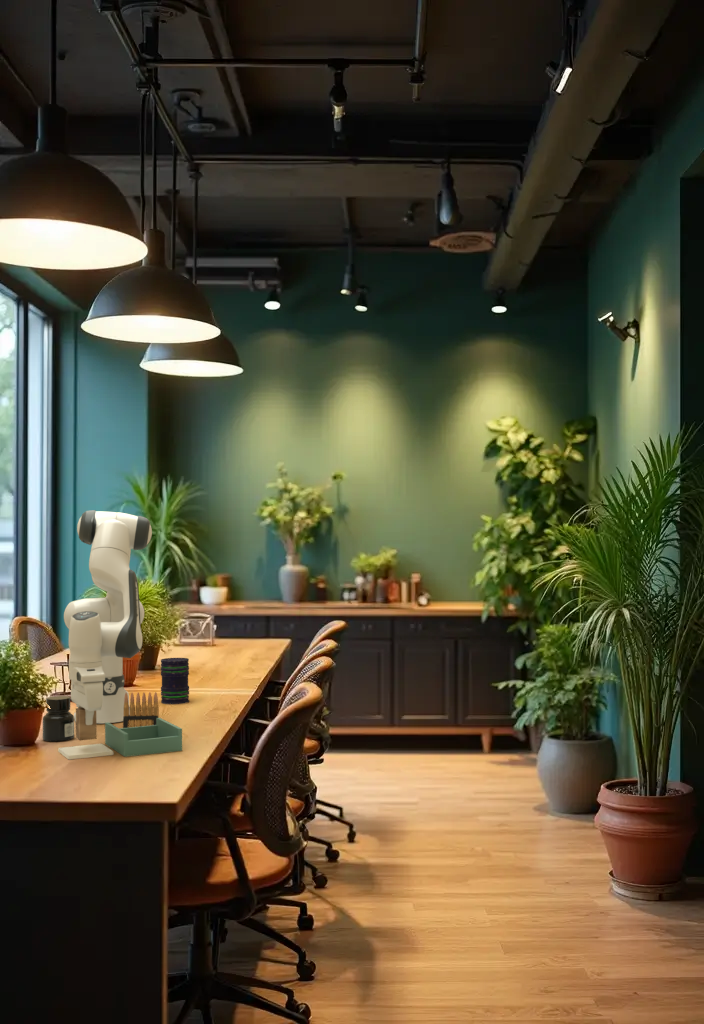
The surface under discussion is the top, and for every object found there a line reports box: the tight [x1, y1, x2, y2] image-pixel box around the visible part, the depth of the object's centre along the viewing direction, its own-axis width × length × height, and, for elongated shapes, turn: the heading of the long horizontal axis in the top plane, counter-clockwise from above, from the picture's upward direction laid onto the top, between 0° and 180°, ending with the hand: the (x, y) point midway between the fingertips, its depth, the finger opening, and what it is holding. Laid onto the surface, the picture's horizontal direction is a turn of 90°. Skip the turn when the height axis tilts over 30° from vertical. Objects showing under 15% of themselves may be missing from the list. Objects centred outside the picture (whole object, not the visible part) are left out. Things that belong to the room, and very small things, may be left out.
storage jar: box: [160, 657, 190, 705], centre depth 383 cm, size 10×10×15 cm
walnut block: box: [75, 707, 98, 741], centre depth 296 cm, size 4×4×8 cm
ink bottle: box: [42, 695, 75, 742], centre depth 317 cm, size 10×9×12 cm
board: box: [57, 743, 114, 760], centre depth 296 cm, size 12×12×1 cm
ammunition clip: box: [122, 691, 160, 728], centre depth 326 cm, size 11×2×12 cm, turn 92°
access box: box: [104, 717, 183, 758], centre depth 304 cm, size 20×16×6 cm
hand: (85, 723), depth 296 cm, fingers closed on walnut block, 4 cm apart
